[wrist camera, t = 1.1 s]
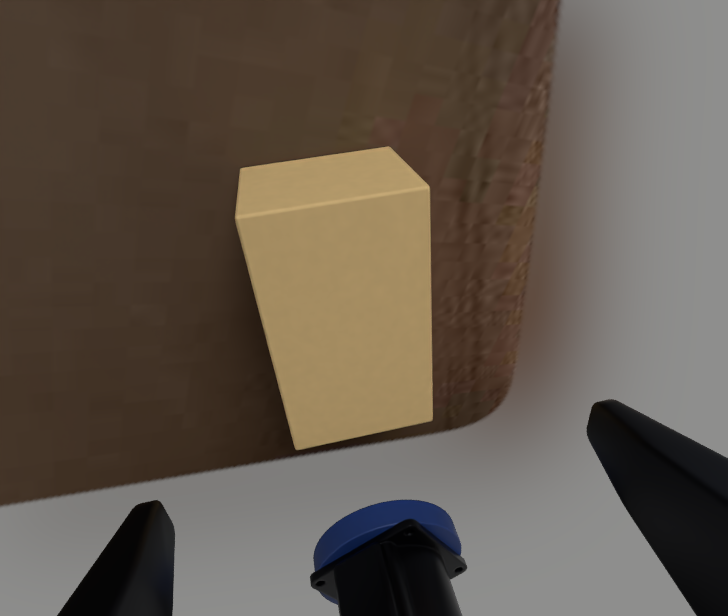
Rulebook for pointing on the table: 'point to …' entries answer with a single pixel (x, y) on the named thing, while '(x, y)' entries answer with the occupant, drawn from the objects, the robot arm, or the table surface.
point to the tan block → (342, 290)
